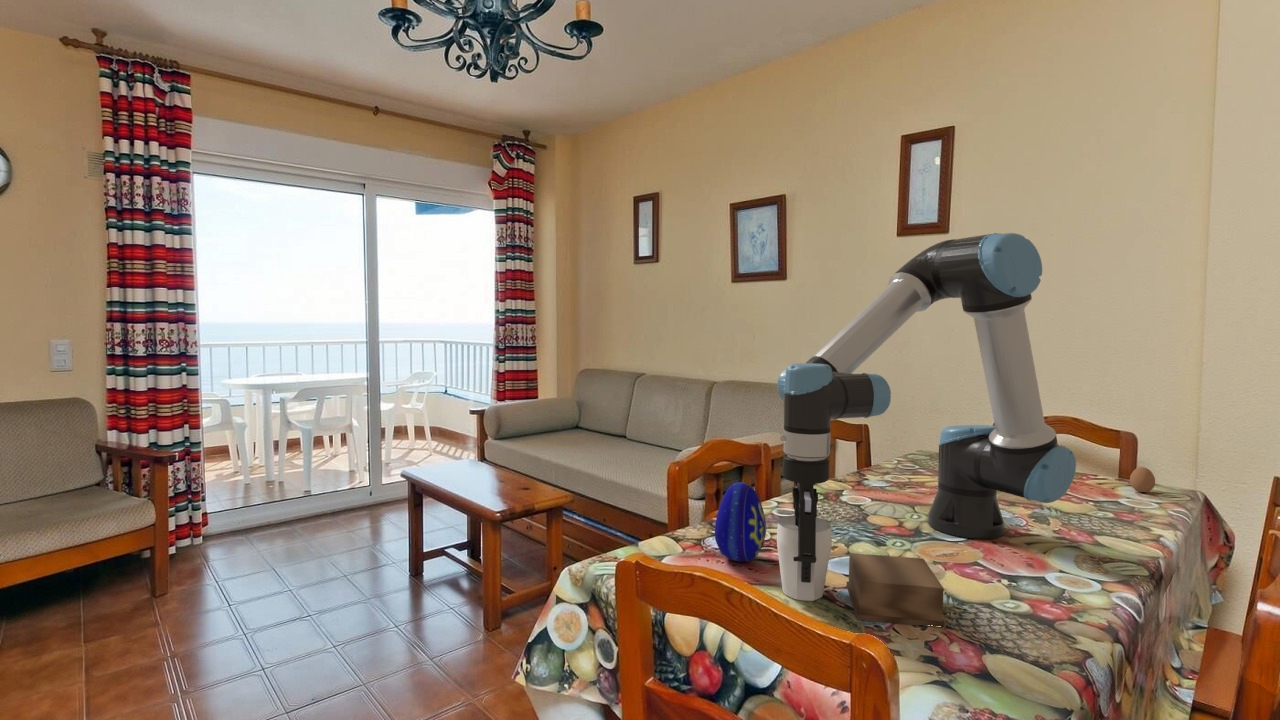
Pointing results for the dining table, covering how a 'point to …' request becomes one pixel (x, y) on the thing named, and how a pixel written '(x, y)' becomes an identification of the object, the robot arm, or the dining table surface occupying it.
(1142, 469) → the egg
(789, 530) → the cup
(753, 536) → the ornament
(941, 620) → the riser
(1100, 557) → the dining table surface
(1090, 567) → the dining table surface
